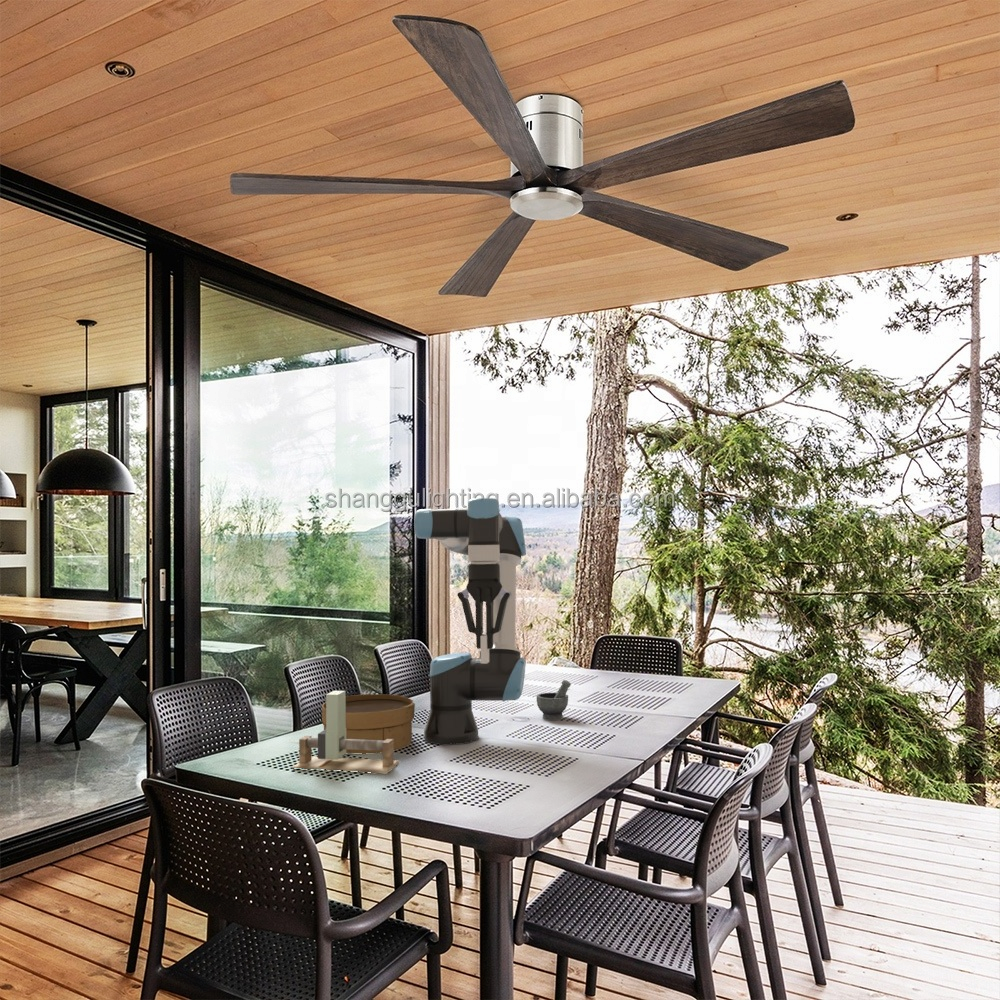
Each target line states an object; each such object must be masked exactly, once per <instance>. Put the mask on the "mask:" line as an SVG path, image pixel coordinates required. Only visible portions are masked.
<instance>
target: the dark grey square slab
mask: <svg viewBox="0 0 1000 1000" xmlns="http://www.w3.org/2000/svg"><path fill="white" fill-rule="evenodd" d="M325 734H326V729H325V730H324V729H323V730H322V731H320V732H319V733H317V738H318V748H317V757H318V759H325Z"/></svg>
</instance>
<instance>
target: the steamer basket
mask: <svg viewBox="0 0 1000 1000" xmlns="http://www.w3.org/2000/svg"><path fill="white" fill-rule="evenodd" d="M415 707H416V704H415V702H414V700H413V699H411V698H409V697H406V696H402V695H396V694H387V693H386V694H384V693H379V694H377V693H373V694H370V693H368V694H367V693H366V694H356V695H355V694H354V695H346V739H359V740H386V739H394V752H395V751H397V750H401V749H404V748H406V747H408V746H409V745H410V744H412V741H413V726H412V725H413V720H414V718H415V711H416V710H415V709H416V708H415ZM321 715H322V717H321V721H322V725H323V731H324V730H325V729H326V701H325V702H324V703H323V704H322V705H321ZM380 752H382V751H377V750H353V749H346V753H362V754H361V755H367V754H366V753H375V754H381V753H380Z"/></svg>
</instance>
